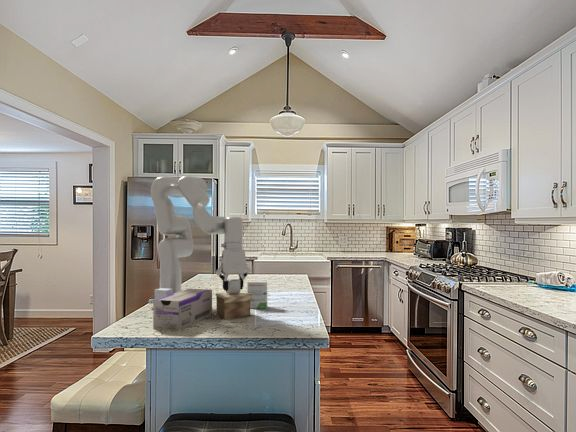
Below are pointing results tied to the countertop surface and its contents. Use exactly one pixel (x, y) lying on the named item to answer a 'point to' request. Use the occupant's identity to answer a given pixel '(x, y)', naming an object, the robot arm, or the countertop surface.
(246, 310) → the crate
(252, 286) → the ink box
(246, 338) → the countertop surface
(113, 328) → the countertop surface
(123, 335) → the countertop surface
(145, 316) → the countertop surface
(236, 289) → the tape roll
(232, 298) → the lid
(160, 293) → the skincare box
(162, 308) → the surgical sutures box
